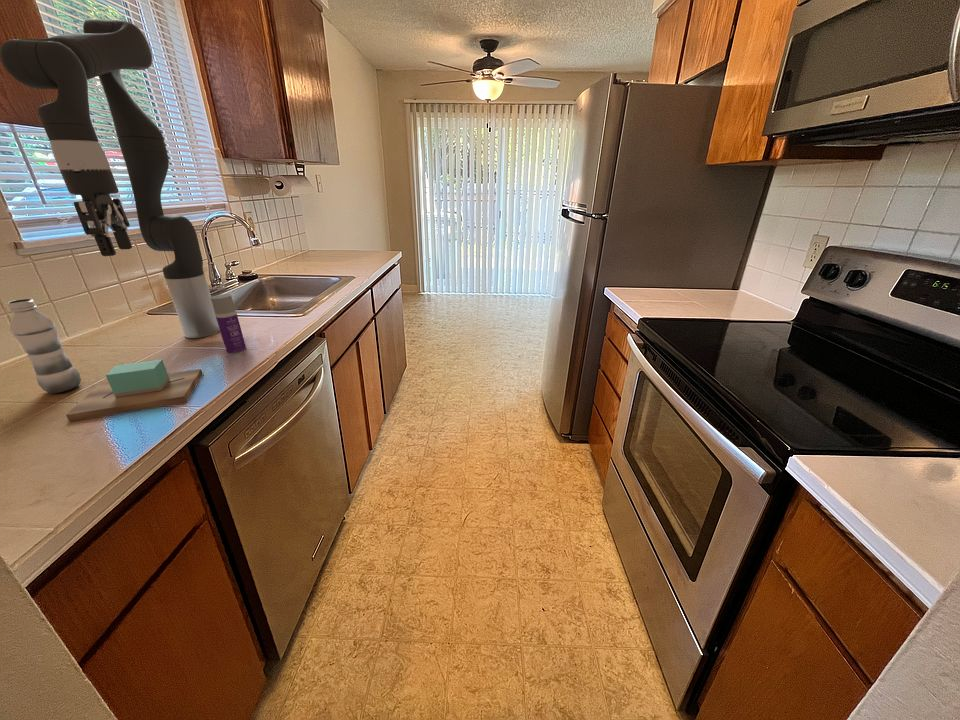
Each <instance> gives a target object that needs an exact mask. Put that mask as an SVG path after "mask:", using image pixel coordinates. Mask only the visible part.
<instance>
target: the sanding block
mask: <svg viewBox="0 0 960 720" xmlns="http://www.w3.org/2000/svg"><path fill="white" fill-rule="evenodd" d="M105 378H106V379H107V382H109V384H110V386H111V388H112V391H113V393H114V395H115V397H121V396H127V395H134V394H141V393H147V392H154V391H160V390H163V389H164V387H165V386H166V385H167V383H168V382H169V381H170V379H169V376H168V371H167V369H166V365H165V363H164V361H163V358H162V359H154V360H146V361H140V362H130V363H124V364H117V365H115V366H114V367H113V368H112V369H110V370H109V371H108V373H106V374H105Z"/></svg>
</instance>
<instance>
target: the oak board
mask: <svg viewBox="0 0 960 720" xmlns="http://www.w3.org/2000/svg"><path fill="white" fill-rule="evenodd" d="M167 373H168V372H167ZM202 374H203V370H202V368H198V369H190V370H185V371H184V370H183V371H175V372H169V373H168V376H169V379H170V381H169V382H168V383H167V385H166V386H165V387H164V389H163V390H160V391H154V392H147V393H141V394H134V395H127V396H121V397H115V395H114V393H113V391H112V388H111V386H110V384H109V382H108V381H105V382H100V383H99V384H97V386H96V387H94V388H93V389H92V390H91V391H90V392H89V393H87V395H85V397H84V398H82V399H81V400H80V401H79V402H78V403H77V404H76V405H75V406H74V407H72V408H71V410H69V411H68V412H67V413H66V414H65V416H66V419H67V421H68V422H69V421H70V422H75V421H76V422H77V421H80V420H82V421H83V420H87V419H94V417H95V418H101V417H105V416H113V415H118V414H125V413H132V412H139V411H143V410H148V409H149V410H150V409H155V408H160V407H161V408H162V407H168V406H174V405H179V404H180V403H181V404H185V403H187V402H188V400H189V399H190V397H191V395H192V394H193V392H194V391H195V389H196V387H197V385H198V384H199V382H200V380H201V379H202V377H203V375H204V374H203V375H202ZM201 376H202V377H201ZM200 378H201V379H200ZM199 379H200V380H199ZM198 381H199V382H198ZM197 383H198V384H197ZM196 384H197V385H196ZM195 386H196V387H195ZM194 388H195V389H194ZM192 391H193V392H192ZM191 393H192V394H191ZM188 398H189V399H188ZM100 416H101V417H100Z"/></svg>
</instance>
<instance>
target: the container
mask: <svg viewBox="0 0 960 720" xmlns="http://www.w3.org/2000/svg"><path fill="white" fill-rule="evenodd" d="M211 301H212V305H213V309H214V312H215V316H216V319H217V323H218V326H219V329H220V335H221V339H222V341H223V346H224V348H225V352H226V354H227V355H229V356H233V355H240V354H242V353H245V352H246V351H247V346H246V343H245V342H246V341H245V338H244V335H243V332H242V327H241V325H240V324H241V323H240V321H239V317H238V313H237V310H236V306H235V303H234V300H233V297H232V294H229V293H222V294H217V295H213V296H212V295H211Z"/></svg>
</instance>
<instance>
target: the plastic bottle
mask: <svg viewBox="0 0 960 720" xmlns="http://www.w3.org/2000/svg"><path fill="white" fill-rule="evenodd" d="M7 306H8V308H9V311H10V313H13V316H12V318H11V321H10V323H9V331H10V332H11V334H12V335H13V337H14V338H15V339H16V341H18V343H19V344H20V346H21V347H22V348H23V350H24V352H25V354H27V357H28V358H29V359H30V362H31V363H30V364H31V365H32V367H33V368H32V369H33V370H34V373H35V379H36V381H37V383H38V386H39V387H40V388H41V389H42V391H45V392H47V393H48V394H56V393H62V392H66V391H69V390H72V389H74V388H77V387H78V386H80V384H81V381H82V379H81V375H80V372H79V371H78V370H77V368H76V367H75V366H74V365H73V364H72V362H71V360H70V359H69V358H68V356H67V354H66V352H65V350H64V348H63V346H62V343H61V340H60V338H59V333H58V329H57V326H56V323H55V321H54V320H53V319H52V318H51V317H50V316H47V315H46V314H44V313H42V312H41V311H39V310H37V309H38V305H37V304H36V302H35V300H34V299H33V298H21V299H14V300H11V301H8V302H7Z"/></svg>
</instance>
